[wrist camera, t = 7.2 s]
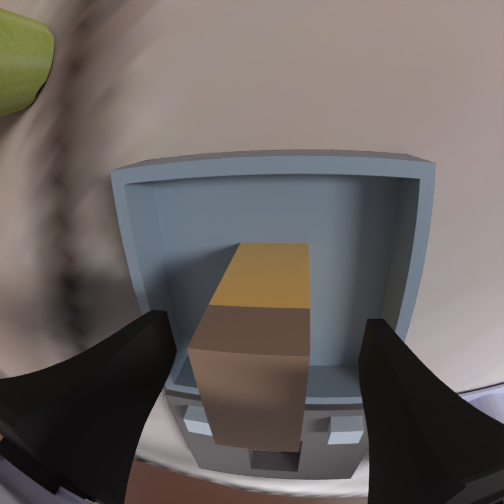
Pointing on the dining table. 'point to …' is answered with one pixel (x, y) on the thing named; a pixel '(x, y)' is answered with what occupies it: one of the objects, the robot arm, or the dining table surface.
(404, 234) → the parts tray
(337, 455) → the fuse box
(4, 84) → the plant pot
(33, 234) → the dining table surface
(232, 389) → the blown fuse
